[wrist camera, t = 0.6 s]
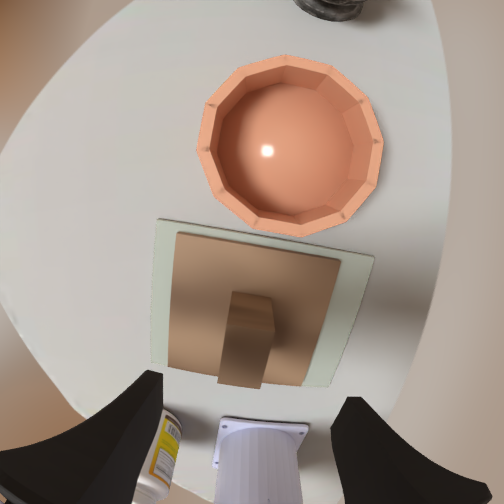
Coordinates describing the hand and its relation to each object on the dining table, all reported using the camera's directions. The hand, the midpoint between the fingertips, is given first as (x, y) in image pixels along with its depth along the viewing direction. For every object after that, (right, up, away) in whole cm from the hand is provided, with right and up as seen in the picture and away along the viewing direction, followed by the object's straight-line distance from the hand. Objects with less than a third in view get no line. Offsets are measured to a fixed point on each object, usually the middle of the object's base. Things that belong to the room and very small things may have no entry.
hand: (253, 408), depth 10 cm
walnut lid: (0, +2, +9) cm, 9 cm away
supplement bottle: (-9, -10, +13) cm, 19 cm away
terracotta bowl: (+2, +12, +6) cm, 14 cm away
